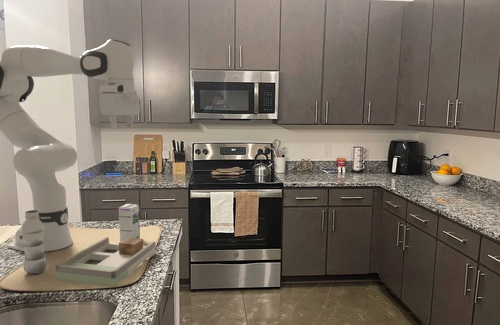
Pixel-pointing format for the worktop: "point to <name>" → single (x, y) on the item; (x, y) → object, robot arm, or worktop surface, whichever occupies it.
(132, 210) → the syrup box
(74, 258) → the box
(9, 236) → the worktop surface
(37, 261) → the plastic bottle
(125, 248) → the walnut block
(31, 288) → the worktop surface
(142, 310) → the worktop surface
